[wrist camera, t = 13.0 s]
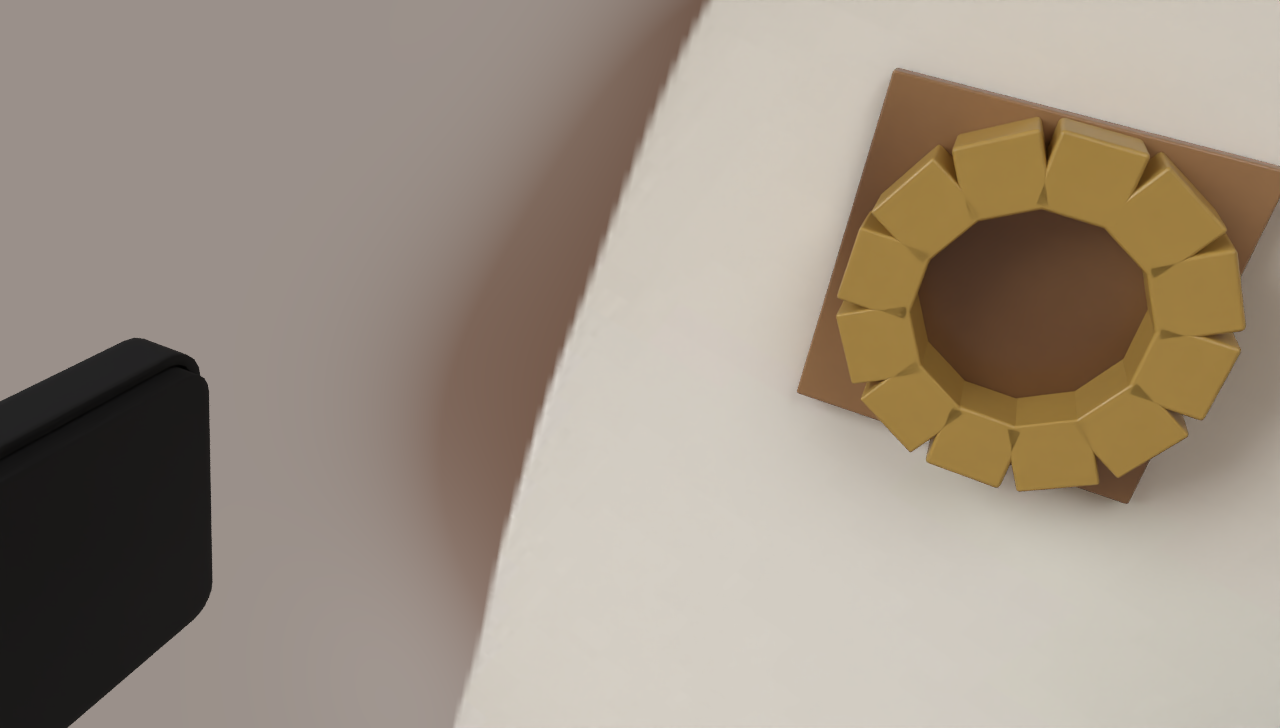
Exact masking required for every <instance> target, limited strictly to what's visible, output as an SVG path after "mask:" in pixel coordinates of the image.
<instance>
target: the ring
mask: <svg viewBox="0 0 1280 728" xmlns="http://www.w3.org/2000/svg"><path fill="white" fill-rule="evenodd" d="M952 155H953V157H952V156H951V155H950V154H949V153H948V152H947V151H946V150H945V149H944V148H943V147H942V146H941V145H937V146H936V147H935V148H934V149H932V150H931V151H930V152H929V153H928V154H927V155H926V156H924V157H923V158H922V159H921V160H920V161H919V162H918V163H916V164H915V165H914V166H913V167H912V168H911V169H910V170H908V171H907V172H906V173H905V174H904V175H903V176H902V177H900V178H899V179H898V180H897V181H896V182H895V183H894V184H892V185H891V186H890V187H889V188H888V189H887V190H886V191H884V192H883V193H882V194H881V196H880V198H879V199H878V201H877V203H876V204H875V206H874V208H873V209H872V211H870V212H869V214H868V215H867V217H866V219H865V220H864V222H863V224H862V225H861V227H860V229H859V231H858V234H857V237H856V240H855V243H854V246H853V249H852V252H851V255H850V258H849V261H848V264H847V267H846V270H845V273H844V276H843V279H842V282H841V285H840V288H839V291H838V294H837V297H838V298H839V299H841V300H844V301H843V303H842V305H841V307H840V309H839V311H838V313H837V315H836V319H837V323H838V327H839V331H840V336H841V340H842V344H843V348H844V353H845V357H846V361H847V365H848V370H849V374H850V378H851V382H852V384H858V383H866V382H867V383H866V386H865V389H864V391H863V394H862V397H861V401H862V402H863V403H864V404H865V405H866V406H867V407H868V408H869V409H870V410H871V411H872V412H873V413H874V414H875V415H876V417H877V418H878V419H879V420H880V421H881V422H882V423H883V424H884V425H885V426H886V427H887V428H888V429H889V430H890V431H891V433H892V434H893V435H894V436H895V437H896V438H897V439H898V440H899V441H900V442H901V443H902V444H903V445H904V446H905V447H906V449H907V450H908V451H909V452H912V451H914V450H915V449H917V448H918V447H919V446H921V445H922V444H924V443H925V442H927V441H928V440H929V439H930V442H929V447H928V452H927V456H926V461H927V462H928V463H930V464H933V465H935V466H938V467H941V468H944V469H946V470H949V471H952V472H955V473H957V474H960V475H963V476H966V477H968V478H971V479H974V480H976V481H979V482H982V483H985V484H987V485H990V486H993V487H997V488H998V487H999V486H1000V485H1001V483H1002V481H1003V479H1004V476H1005V474H1006V472H1007V470H1008V468H1009V466H1010V463H1011V464H1012V469H1013V474H1014V479H1015V485H1016V489H1017V491H1019V492H1020V491H1031V490H1043V489H1055V488H1066V487H1078V486H1090V485H1098V484H1099V473H1098V464H1097V457H1098V458H1099V459H1100V460H1101V461H1102V462H1103V463H1104V465H1105V466H1106V467H1107V468H1108V469H1109V470H1110V471H1111V472H1112V473H1113V474H1114V475H1115V476H1116V477H1117V478H1120V477H1121V476H1123V475H1125V474H1126V473H1128V472H1130V471H1131V470H1133V469H1135V468H1136V467H1138V466H1140V465H1141V464H1143V463H1145V462H1146V461H1148V460H1150V459H1151V458H1153V457H1155V456H1156V455H1158V454H1160V453H1161V452H1163V451H1165V450H1166V449H1168V448H1170V447H1171V446H1173V445H1175V444H1176V443H1178V442H1180V441H1181V440H1183V439H1185V438H1186V437H1188V431H1187V428H1186V424H1185V421H1184V418H1183V415H1185V416H1188V417H1191V418H1194V419H1197V420H1203V419H1204V418H1205V417H1206V415H1207V413H1208V411H1209V409H1210V407H1211V406H1212V404H1213V402H1214V400H1215V398H1216V397H1217V395H1218V393H1219V391H1220V389H1221V387H1222V386H1223V384H1224V382H1225V380H1226V378H1227V376H1228V375H1229V373H1230V371H1231V369H1232V367H1233V365H1234V364H1235V362H1236V360H1237V358H1238V356H1239V355H1240V353H1241V349H1240V347H1239V345H1238V343H1237V340H1236V338H1235V336H1234V334H1233V332H1239V331H1243V330H1245V327H1246V322H1245V314H1244V305H1243V296H1242V287H1241V278H1240V270H1239V261H1238V252H1237V251H1236V249H1235V247H1234V246H1233V244H1232V242H1231V241H1230V239H1229V237H1228V236H1227V234H1226V231H1227V228H1226V226H1225V224H1224V223H1223V221H1222V220H1221V218H1220V216H1219V215H1218V213H1217V211H1216V210H1215V209H1214V207H1213V206H1212V205H1211V204H1210V203H1209V202H1208V201H1207V200H1206V199H1205V198H1204V196H1203V195H1202V194H1201V193H1200V192H1199V191H1198V190H1197V189H1196V188H1195V187H1194V185H1193V184H1192V183H1191V182H1190V181H1189V180H1188V179H1187V178H1186V177H1185V176H1184V174H1183V173H1182V172H1181V171H1180V170H1179V169H1178V168H1177V167H1176V166H1175V165H1174V163H1173V162H1172V161H1171V160H1170V159H1169V158H1168V157H1167V156H1166V155H1165V154H1164V153H1162V152H1160V153H1158V154H1156V155H1155V156H1154V157H1152V158H1151V159H1150V155H1149V152H1148V150H1147V148H1146V146H1145V144H1144V142H1143V141H1142V140H1141V139H1138V138H1135V137H1131V136H1128V135H1124V134H1121V133H1117V132H1113V131H1110V130H1106V129H1103V128H1099V127H1096V126H1092V125H1089V124H1085V123H1082V122H1078V121H1075V120H1071V119H1068V118H1061V119H1060V120H1059V121H1058V124H1057V126H1056V129H1055V131H1054V133H1053V136H1052V138H1051V141H1050V143H1049V146H1048V148H1047V150H1046V144H1045V138H1044V132H1043V126H1042V120H1041V119H1040V117H1034V118H1029V119H1025V120H1021V121H1016V122H1012V123H1007V124H1003V125H998V126H994V127H990V128H985V129H981V130H976V131H972V132H968V133H963V134H960V135H958V136H957V139H956V141H955V144H954V146H953V149H952ZM1149 159H1150V160H1149ZM1041 209H1042V210H1045V211H1049V212H1052V213H1055V214H1058V215H1062V216H1065V217H1068V218H1072V219H1075V220H1078V221H1081V222H1085V223H1088V224H1091V225H1094V226H1098V227H1101V228H1104V229H1105V230H1106V231H1107V232H1108V233H1109V234H1110V236H1111V237H1112V238H1113V239H1114V240H1115V241H1116V242H1117V243H1118V244H1119V245H1120V246H1121V248H1122V249H1123V250H1124V251H1125V252H1126V253H1127V254H1128V255H1129V256H1130V257H1131V258H1132V260H1133V261H1134V262H1135V263H1136V264H1137V265H1138V266H1139V267H1140V268H1141V269H1142V272H1143V279H1144V286H1145V293H1146V300H1147V307H1148V310H1147V312H1146V314H1145V316H1144V318H1143V320H1142V322H1141V324H1140V326H1139V328H1138V330H1137V332H1136V334H1135V336H1134V338H1133V340H1132V342H1131V344H1130V347H1129V349H1128V351H1127V353H1126V355H1125V357H1124V359H1122V360H1121V361H1119V362H1118V363H1116V364H1115V365H1113V366H1112V367H1110V368H1109V369H1107V370H1106V371H1104V372H1103V373H1101V374H1100V375H1098V376H1097V377H1095V378H1094V379H1092V380H1091V381H1089V382H1088V383H1086V384H1085V385H1083V386H1082V387H1080V388H1079V389H1077V390H1076V391H1072V392H1064V393H1056V394H1047V395H1039V396H1031V397H1023V398H1013V397H1011V396H1008V395H1005V394H1002V393H999V392H996V391H993V390H990V389H987V388H984V387H982V386H979V385H976V384H973V383H970V382H967V381H965V380H964V379H963V378H962V377H961V376H960V375H959V374H958V373H957V372H956V371H955V370H954V368H953V367H952V366H951V365H950V364H949V363H948V362H947V361H946V360H945V359H944V358H943V357H942V356H941V355H940V353H939V352H938V351H937V350H936V349H935V348H934V347H933V346H932V345H931V344H930V343H929V342H928V338H927V334H926V329H925V324H924V319H923V315H922V310H921V305H920V300H919V296H918V291H919V288H920V286H921V283H922V280H923V278H924V275H925V272H926V270H927V267H928V264H929V262H930V260H931V259H932V258H933V257H934V256H936V255H937V254H938V253H939V252H941V251H942V250H943V249H944V248H946V247H947V246H948V245H949V244H951V243H952V242H953V241H954V240H956V239H957V238H958V237H959V236H960V235H962V234H963V233H964V232H965V231H967V230H968V229H969V228H970V227H972V226H973V225H974V224H975V223H977V222H978V221H983V220H989V219H994V218H999V217H1004V216H1010V215H1015V214H1020V213H1025V212H1030V211H1036V210H1041Z"/></svg>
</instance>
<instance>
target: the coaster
mask: <svg viewBox="0 0 1280 728" xmlns="http://www.w3.org/2000/svg"><path fill="white" fill-rule="evenodd" d="M1034 117H1040V119H1041V120H1042V126H1043V132H1044V138H1045V144H1046V150H1047V148H1048V146H1049V143H1050V141H1051V138H1052V136H1053V133H1054V131H1055V129H1056V126H1057V124H1058V121H1059V120H1060V119H1061V118H1068V119H1071V120H1075V121H1078V122H1082V123H1085V124H1089V125H1092V126H1096V127H1099V128H1103V129H1106V130H1110V131H1113V132H1117V133H1121V134H1124V135H1128V136H1131V137H1135V138H1138V139H1141V140H1142V141H1143V142H1144V144H1145V146H1146V148H1147V150H1148V152H1149V155H1150V159H1151V158H1152V157H1154V156H1155V155H1156V154H1158V153H1160V152H1162V153H1164V154H1165V155H1166V156H1167V157H1168V158H1169V159H1170V160H1171V161H1172V162H1173V163H1174V165H1175V166H1176V167H1177V168H1178V169H1179V170H1180V171H1181V172H1182V173H1183V174H1184V176H1185V177H1186V178H1187V179H1188V180H1189V181H1190V182H1191V183H1192V184H1193V185H1194V187H1195V188H1196V189H1197V190H1198V191H1199V192H1200V193H1201V194H1202V195H1203V196H1204V198H1205V199H1206V200H1207V201H1208V202H1209V203H1210V204H1211V205H1212V206H1213V207H1214V209H1215V210H1216V211H1217V213H1218V215H1219V216H1220V218H1221V220H1222V221H1223V223H1224V224H1225V226H1226V228H1227V231H1226V234H1227V236H1228V237H1229V239H1230V241H1231V242H1232V244H1233V246H1234V247H1235V249H1236V251H1237V252H1238V261H1239V270H1240V277H1241V275H1242V273H1243V271H1244V269H1245V267H1246V265H1247V263H1248V261H1249V259H1250V257H1251V255H1252V253H1253V251H1254V249H1255V247H1256V245H1257V243H1258V241H1259V239H1260V237H1261V235H1262V233H1263V231H1264V229H1265V227H1266V225H1267V223H1268V221H1269V219H1270V217H1271V215H1272V213H1273V211H1274V209H1275V207H1276V205H1277V203H1278V201H1279V199H1280V166H1277V165H1273V164H1270V163H1266V162H1262V161H1258V160H1254V159H1250V158H1246V157H1242V156H1238V155H1235V154H1231V153H1227V152H1223V151H1219V150H1215V149H1211V148H1207V147H1204V146H1200V145H1196V144H1192V143H1188V142H1184V141H1180V140H1176V139H1172V138H1169V137H1165V136H1161V135H1157V134H1153V133H1149V132H1145V131H1141V130H1138V129H1134V128H1130V127H1126V126H1122V125H1118V124H1114V123H1110V122H1107V121H1103V120H1099V119H1095V118H1091V117H1087V116H1083V115H1079V114H1075V113H1072V112H1068V111H1064V110H1060V109H1056V108H1052V107H1048V106H1044V105H1041V104H1037V103H1033V102H1029V101H1025V100H1021V99H1017V98H1013V97H1009V96H1006V95H1002V94H998V93H994V92H990V91H986V90H982V89H978V88H975V87H971V86H967V85H963V84H959V83H955V82H951V81H947V80H944V79H940V78H936V77H932V76H928V75H924V74H920V73H916V72H912V71H909V70H905V69H901V68H896V69H895V70H894V71H893V73H892V77H891V80H890V83H889V87H888V90H887V93H886V97H885V100H884V103H883V107H882V110H881V113H880V117H879V120H878V123H877V127H876V130H875V133H874V137H873V140H872V143H871V146H870V150H869V153H868V156H867V160H866V163H865V166H864V170H863V173H862V176H861V180H860V183H859V186H858V190H857V193H856V196H855V200H854V203H853V206H852V210H851V213H850V216H849V220H848V223H847V226H846V230H845V233H844V236H843V239H842V243H841V246H840V249H839V253H838V256H837V259H836V263H835V266H834V269H833V273H832V276H831V279H830V283H829V286H828V289H827V293H826V296H825V299H824V303H823V306H822V309H821V313H820V316H819V319H818V323H817V326H816V329H815V332H814V336H813V339H812V342H811V346H810V349H809V352H808V356H807V359H806V362H805V366H804V369H803V372H802V376H801V379H800V382H799V386H798V389H797V393H799V394H802V395H805V396H808V397H811V398H814V399H817V400H820V401H823V402H826V403H829V404H832V405H835V406H838V407H841V408H844V409H847V410H850V411H853V412H856V413H859V414H862V415H865V416H868V417H871V418H873V419H876V420H879V419H878V418H877V417H876V415H875V414H874V413H873V412H872V411H871V410H870V409H869V408H868V407H867V406H866V405H865V404H864V403H863V402H862V401H861V397H862V394H863V391H864V389H865V386H866V383H867V382H866V383H858V384H852V382H851V378H850V374H849V370H848V365H847V361H846V357H845V353H844V348H843V344H842V340H841V336H840V331H839V327H838V323H837V319H836V315H837V313H838V311H839V309H840V307H841V305H842V303H843V301H844V300H841V299H839V298H838V297H837V294H838V291H839V288H840V285H841V282H842V279H843V276H844V273H845V270H846V267H847V264H848V261H849V258H850V255H851V252H852V249H853V246H854V243H855V240H856V237H857V234H858V231H859V229H860V227H861V225H862V224H863V222H864V220H865V219H866V217H867V215H868V214H869V212H870V211H872V209H873V208H874V206H875V204H876V203H877V201H878V199H879V198H880V196H881V194H882V193H883V192H884V191H886V190H887V189H888V188H889V187H890V186H891V185H892V184H894V183H895V182H896V181H897V180H898V179H899V178H900V177H902V176H903V175H904V174H905V173H906V172H907V171H908V170H910V169H911V168H912V167H913V166H914V165H915V164H916V163H918V162H919V161H920V160H921V159H922V158H923V157H924V156H926V155H927V154H928V153H929V152H930V151H931V150H932V149H934V148H935V147H936V146H937V145H941V146H942V147H943V148H944V149H945V150H946V151H947V152H948V153H949V154H950V155H951V156H952V157H953V155H952V149H953V146H954V144H955V141H956V139H957V136H958V135H960V134H963V133H968V132H972V131H976V130H981V129H985V128H990V127H994V126H998V125H1003V124H1007V123H1012V122H1016V121H1021V120H1025V119H1029V118H1034ZM1150 159H1149V160H1150ZM918 296H919V300H920V305H921V310H922V315H923V319H924V324H925V329H926V334H927V338H928V342H929V343H930V344H931V345H932V346H933V347H934V348H935V349H936V350H937V351H938V352H939V353H940V355H941V356H942V357H943V358H944V359H945V360H946V361H947V362H948V363H949V364H950V365H951V366H952V367H953V368H954V370H955V371H956V372H957V373H958V374H959V375H960V376H961V377H962V378H963V379H964V380H965V381H967V382H970V383H973V384H976V385H979V386H982V387H984V388H987V389H990V390H993V391H996V392H999V393H1002V394H1005V395H1008V396H1011V397H1013V398H1023V397H1031V396H1039V395H1047V394H1056V393H1064V392H1072V391H1076V390H1077V389H1079V388H1080V387H1082V386H1083V385H1085V384H1086V383H1088V382H1089V381H1091V380H1092V379H1094V378H1095V377H1097V376H1098V375H1100V374H1101V373H1103V372H1104V371H1106V370H1107V369H1109V368H1110V367H1112V366H1113V365H1115V364H1116V363H1118V362H1119V361H1121V360H1122V359H1124V357H1125V355H1126V353H1127V351H1128V349H1129V347H1130V344H1131V342H1132V340H1133V338H1134V336H1135V334H1136V332H1137V330H1138V328H1139V326H1140V324H1141V322H1142V320H1143V318H1144V316H1145V314H1146V312H1147V310H1148V307H1147V300H1146V293H1145V286H1144V279H1143V272H1142V269H1141V268H1140V267H1139V266H1138V265H1137V264H1136V263H1135V262H1134V261H1133V260H1132V258H1131V257H1130V256H1129V255H1128V254H1127V253H1126V252H1125V251H1124V250H1123V249H1122V248H1121V246H1120V245H1119V244H1118V243H1117V242H1116V241H1115V240H1114V239H1113V238H1112V237H1111V236H1110V234H1109V233H1108V232H1107V231H1106V230H1105V229H1104V228H1101V227H1098V226H1094V225H1091V224H1088V223H1085V222H1081V221H1078V220H1075V219H1072V218H1068V217H1065V216H1062V215H1058V214H1055V213H1052V212H1049V211H1045V210H1042V209H1041V210H1036V211H1030V212H1025V213H1020V214H1015V215H1010V216H1004V217H999V218H994V219H989V220H983V221H978V222H977V223H975V224H974V225H973V226H972V227H970V228H969V229H968V230H967V231H965V232H964V233H963V234H962V235H960V236H959V237H958V238H957V239H956V240H954V241H953V242H952V243H951V244H949V245H948V246H947V247H946V248H944V249H943V250H942V251H941V252H939V253H938V254H937V255H936V256H934V257H933V258H932V259H931V260H930V262H929V264H928V267H927V270H926V272H925V275H924V278H923V280H922V283H921V286H920V288H919V291H918ZM879 421H880V420H879ZM1149 461H1150V460H1148V461H1146V462H1145V463H1143V464H1141V465H1140V466H1138V467H1136V468H1135V469H1133V470H1131V471H1130V472H1128V473H1126V474H1125V475H1123V476H1121V477H1120V478H1117V477H1116V476H1115V475H1114V474H1113V473H1112V472H1111V471H1110V470H1109V469H1108V468H1107V467H1106V466H1105V465H1104V463H1103V462H1102V461H1101V460H1100V459H1099V458H1098V457H1097V464H1098V473H1099V484H1098V485H1090V486H1078V488H1081V489H1084V490H1087V491H1090V492H1093V493H1096V494H1099V495H1102V496H1105V497H1108V498H1110V499H1113V500H1116V501H1119V502H1122V503H1125V504H1128V503H1129V501H1130V499H1131V497H1132V495H1133V493H1134V491H1135V489H1136V487H1137V485H1138V483H1139V481H1140V479H1141V477H1142V475H1143V473H1144V471H1145V469H1146V467H1147V465H1148V463H1149ZM1010 465H1012V464H1011V463H1010Z"/></svg>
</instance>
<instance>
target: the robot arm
mask: <svg viewBox="0 0 1280 728" xmlns="http://www.w3.org/2000/svg"><path fill="white" fill-rule="evenodd" d="M211 541H212V539H211V483H210V429H209V390H208V384H207V382H206V381H205V379H204V378H203V377H201V376H200V372H199V367H198V365H197V363H196V362H195V360H194V359H193V358H191V357H189V356H188V355H186V354H183V353H181V352H178V351H175V350H172V349H170V348H167V347H164V346H162V345H159V344H156V343H154V342H151V341H148V340H146V339H141V338H132V339H129V340H126V341H123V342H121V343H119V344H117V345H115V346H113V347H111V348H109V349H107V350H105V351H103V352H101V353H98V354H96V355H95V356H92V357H90V358H88V359H86V360H84V361H82V362H80V363H78V364H76V365H74V366H72V367H70V368H68V369H66V370H64V371H62V372H60V373H58V374H56V375H54V376H51V377H50V378H48V379H45V380H43V381H41V382H39V383H37V384H35V385H33V386H31V387H29V388H27V389H25V390H23V391H21V392H19V393H17V394H15V395H13V396H10V397H8V398H6V399H4V400H2V401H0V728H68V726H70V725H71V724H72V723H73V722H74V721H76V720H77V719H78V718H79V717H80V716H82V715H83V714H84V713H85V712H86V711H87V710H88V709H90V708H91V707H92V706H93V705H94V704H96V703H97V702H98V701H99V700H100V699H101V698H103V697H104V696H105V695H106V694H107V693H108V692H110V691H111V690H112V689H113V688H114V687H115V686H116V685H118V684H119V683H120V682H121V681H122V680H124V679H125V678H126V677H127V676H128V675H129V674H130V673H132V672H133V671H134V670H135V669H136V668H138V667H139V666H140V665H141V664H142V663H143V662H145V661H146V660H147V659H148V658H149V657H150V656H152V655H153V654H154V653H155V652H156V651H157V650H159V649H160V648H161V647H162V646H163V645H164V644H166V643H167V642H168V641H169V640H170V639H171V638H173V637H174V636H175V635H176V634H177V633H178V632H180V631H181V630H182V629H183V628H184V627H185V626H187V625H188V624H189V623H190V622H191V621H192V620H194V618H195V617H196V616H197V615H198V614H199V613H200V612H201V610H202V609H203V607H204V606H205V604H206V602H207V600H208V598H209V595H210V592H211V589H212V542H211Z"/></svg>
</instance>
